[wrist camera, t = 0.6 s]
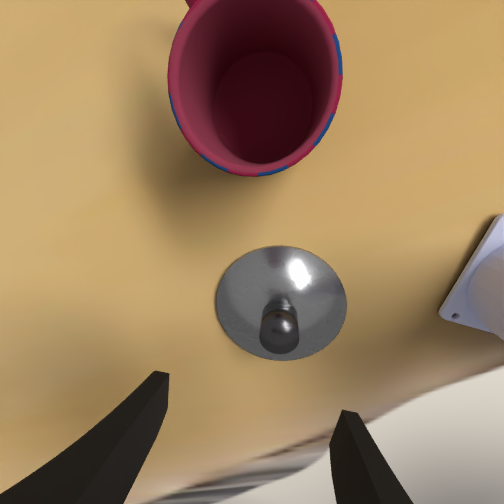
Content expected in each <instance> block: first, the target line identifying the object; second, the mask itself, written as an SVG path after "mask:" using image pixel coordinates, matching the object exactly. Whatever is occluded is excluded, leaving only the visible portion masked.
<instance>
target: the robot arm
mask: <svg viewBox="0 0 504 504" xmlns="http://www.w3.org/2000/svg"><path fill="white" fill-rule="evenodd" d="M454 313H456V315H454V316H452V315H453V314H454ZM439 315H440V316H441V317H442V318H443V319H445V320H448V321H452V322H455V323H459V324H462V325H466V326H469V327H473V328H476V329H480V330H483V331H487V332H490V333H494V334H496V335H497V336H498V337H499V338H501V339H502V340H503V341H504V213H502V214H499V215H498V216H497V217H496V218H495V219H494V221H493V222H492V224H491V226H490V227H489V229H488V230H487V232H486V234H485V235H484V237H483V239H482V240H481V242H480V244H479V245H478V247H477V249H476V250H475V252H474V254H473V255H472V257H471V258H470V260H469V262H468V263H467V265H466V267H465V268H464V270H463V272H462V273H461V275H460V277H459V278H458V280H457V282H456V283H455V285H454V286H453V288H452V290H451V291H450V293H449V295H448V296H447V298H446V300H445V301H444V303H443V305H442V306H441V308H440V310H439ZM168 391H169V373H165V372H160V371H154V372H152V373H151V374H150V375H149V377H148V378H147V379H146V380H145V381H144V382H143V383H142V384H141V385H140V386H139V387H138V388H136V389H135V390H134V391H133V392H132V393H131V394H130V395H129V396H128V397H127V398H126V399H125V400H124V401H123V402H122V403H121V404H119V405H118V406H117V407H116V408H115V409H114V410H113V411H112V412H111V413H110V414H108V415H107V416H106V417H105V418H104V419H103V420H101V421H100V422H99V423H98V424H97V425H95V426H94V427H93V428H92V429H91V430H89V431H88V432H87V433H86V434H85V435H83V436H82V437H81V438H80V439H78V440H77V441H76V442H75V443H73V444H72V445H71V446H69V447H68V448H67V449H65V450H64V451H63V452H61V453H60V454H59V455H57V456H56V457H55V458H53V459H52V460H50V461H49V462H48V463H46V464H45V465H43V466H42V467H40V468H39V469H37V470H36V471H35V472H33V473H32V474H30V475H29V476H27V477H26V478H24V479H23V480H21V481H20V482H18V483H17V484H15V485H14V486H12V487H11V488H9V489H8V490H6V491H4V492H3V493H1V494H0V504H123V503H124V501H125V499H126V497H127V495H128V493H129V491H130V489H131V487H132V485H133V483H134V481H135V479H136V477H137V475H138V473H139V471H140V469H141V467H142V465H143V463H144V461H145V459H146V457H147V455H148V453H149V451H150V449H151V447H152V445H153V443H154V441H155V439H156V437H157V435H158V432H159V430H160V427H161V425H162V422H163V419H164V417H165V414H166V412H167V408H168ZM329 447H330V461H331V471H332V479H333V485H334V491H335V496H336V502H337V504H413V502H412V501H411V499H410V498H409V496H408V495H407V493H406V492H405V490H404V489H403V487H402V485H401V484H400V482H399V481H398V479H397V478H396V476H395V474H394V473H393V471H392V470H391V468H390V467H389V465H388V463H387V462H386V460H385V458H384V457H383V455H382V454H381V452H380V450H379V449H378V447H377V445H376V443H375V442H374V440H373V439H372V437H371V435H370V433H369V432H368V430H367V428H366V426H365V425H364V423H363V421H362V419H361V418H360V416H359V415H358V413H356V412H351V411H346V410H342V412H341V414H340V417H339V420H338V422H337V425H336V428H335V430H334V433H333V436H332V438H331V441H330V444H329Z"/></svg>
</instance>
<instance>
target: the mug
mask: <svg viewBox="0 0 504 504" xmlns="http://www.w3.org/2000/svg"><path fill="white" fill-rule="evenodd" d="M185 1H186V3H187V5H188V6H189V8H190V9H189V10H188V12H187V14H186V15H185V17H184V19H183V20H182V22H181V24H180V25H179V28H178V30H177V33H176V35H175V38H174V40H173V43H172V48H171V52H170V56H169V63H168V75H167V77H168V93H169V98H170V103H171V107H172V111H173V114H174V116H175V119H176V122H177V124H178V126H179V128H180V130H181V132H182V134H183V135H184V137H185V139H186V140H187V141H188V143H189V144H190V145H191V146H192V148H193V149H194V150H195V151H196V152H197V153H198V154H199V155H200V156H201V157H202V158H203V159H204V160H206V161H207V162H209V163H210V164H212V165H214V166H215V167H217V168H219V169H221V170H223V171H226V172H228V173H231V174H236V175H240V176H252V177H258V176H265V175H271V174H274V173H277V172H280V171H283V170H285V169H287V168H289V167H291V166H293V165H294V164H296V163H298V162H299V161H300V160H302V159H303V158H304V157H305V156H307V155H308V154H309V153H310V152H311V151H312V150H313V149H314V148H315V146H316V145H317V144H318V143H319V142H320V140H321V139H322V137H323V136H324V134H325V133H326V131H327V130H328V128H329V126H330V124H331V122H332V120H333V117H334V115H335V113H336V109H337V106H338V103H339V99H340V95H341V87H342V79H343V73H342V56H341V51H340V46H339V41H338V38H337V35H336V33H335V30H334V27H333V24H332V23H331V21H330V19H329V17H328V16H327V14H326V12H325V11H324V9H323V7H322V6H321V5H320V4H319V3H318V2H317V1H316V0H185Z"/></svg>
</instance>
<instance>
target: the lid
mask: <svg viewBox="0 0 504 504" xmlns="http://www.w3.org/2000/svg"><path fill="white" fill-rule="evenodd" d="M216 306H217V313H218V317H219V320H220V322H221V325H222V327H223V328H224V330H225V332H226V333H227V334H228V335H229V337H230V338H231V339H232V340H233V341H234V342H235V343H236V344H237V345H239V346H240V347H241V348H243V349H244V350H246V351H248V352H250V353H252V354H254V355H256V356H259V357H262V358H266V359H270V360H279V361H287V360H296V359H301V358H304V357H308V356H310V355H313V354H315V353H317V352H318V351H320V350H322V349H323V348H325V347H326V346H327V345H328V344H329V343H330V342H331V341H332V340H333V339H334V338H335V337H336V336H337V334H338V333H339V331H340V329H341V328H342V325H343V323H344V320H345V316H346V309H347V302H346V295H345V291H344V288H343V286H342V283H341V281H340V279H339V277H338V276H337V274H336V272H335V271H334V270H333V269H332V268H331V266H330V265H328V264H327V263H326V262H325V261H324V260H323V259H321V258H320V257H318V256H317V255H315V254H313V253H311V252H309V251H306V250H304V249H301V248H297V247H292V246H283V245H280V246H268V247H263V248H259V249H256V250H254V251H251V252H249V253H247V254H245V255H244V256H242V257H240V258H239V259H238V260H237V261H235V262H234V263H233V264H232V265H231V266H230V267H229V269H228V270H227V272H226V273H225V274H224V276H223V278H222V280H221V282H220V285H219V288H218V291H217V297H216Z"/></svg>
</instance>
